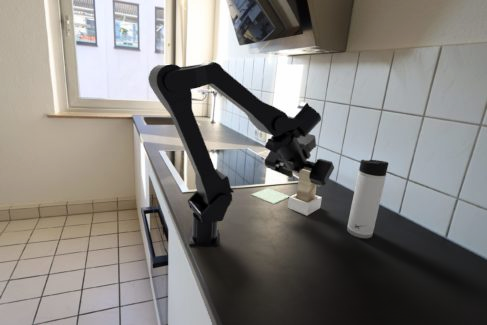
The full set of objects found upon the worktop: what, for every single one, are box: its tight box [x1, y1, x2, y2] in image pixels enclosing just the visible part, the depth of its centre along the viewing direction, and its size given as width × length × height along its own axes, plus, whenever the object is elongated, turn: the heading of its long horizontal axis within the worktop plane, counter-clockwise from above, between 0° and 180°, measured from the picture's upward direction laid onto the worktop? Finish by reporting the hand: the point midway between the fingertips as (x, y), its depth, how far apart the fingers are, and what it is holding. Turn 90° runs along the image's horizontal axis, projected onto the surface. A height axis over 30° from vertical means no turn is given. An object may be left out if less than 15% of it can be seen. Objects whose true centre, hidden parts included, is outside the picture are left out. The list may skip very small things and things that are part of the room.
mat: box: [250, 187, 291, 205], centre depth 94 cm, size 9×9×1 cm
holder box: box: [287, 193, 323, 216], centre depth 87 cm, size 8×7×4 cm
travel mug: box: [346, 159, 389, 239], centre depth 72 cm, size 6×7×20 cm
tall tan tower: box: [296, 169, 318, 203], centre depth 86 cm, size 5×4×12 cm
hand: (305, 180), depth 83 cm, fingers open, 9 cm apart
